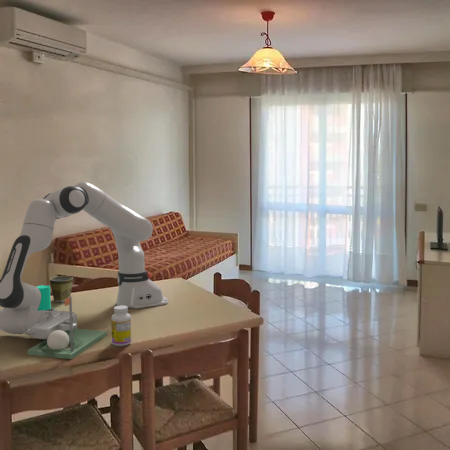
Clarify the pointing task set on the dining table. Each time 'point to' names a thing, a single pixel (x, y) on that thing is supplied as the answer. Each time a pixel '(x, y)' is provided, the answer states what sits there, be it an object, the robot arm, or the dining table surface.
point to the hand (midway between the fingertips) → (75, 326)
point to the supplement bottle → (121, 326)
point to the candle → (44, 297)
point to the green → (70, 341)
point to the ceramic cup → (61, 287)
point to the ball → (58, 340)
